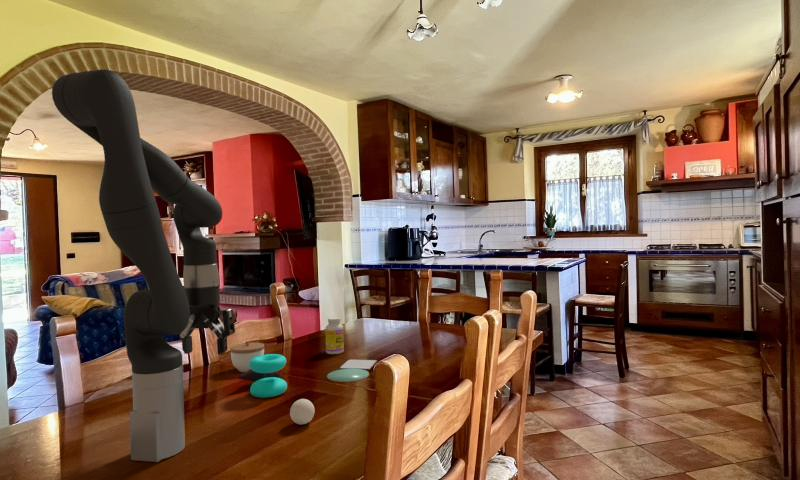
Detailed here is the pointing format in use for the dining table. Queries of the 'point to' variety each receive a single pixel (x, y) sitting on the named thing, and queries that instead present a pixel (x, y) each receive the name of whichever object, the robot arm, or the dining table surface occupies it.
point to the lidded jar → (245, 354)
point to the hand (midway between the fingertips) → (205, 353)
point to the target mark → (348, 375)
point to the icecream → (257, 375)
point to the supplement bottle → (334, 336)
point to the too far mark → (358, 364)
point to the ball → (302, 411)
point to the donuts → (271, 384)
